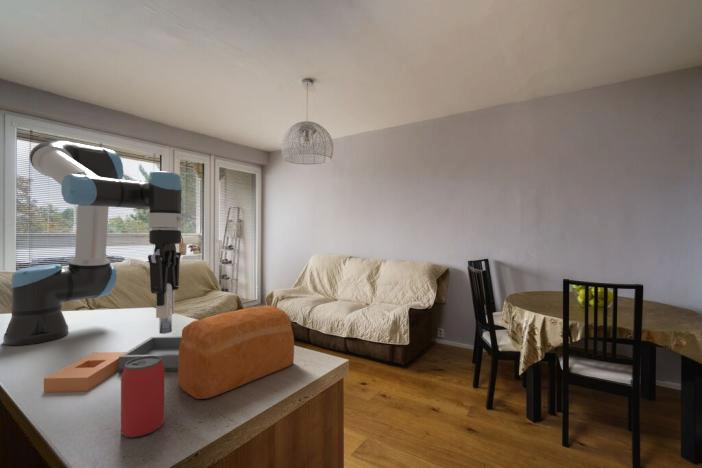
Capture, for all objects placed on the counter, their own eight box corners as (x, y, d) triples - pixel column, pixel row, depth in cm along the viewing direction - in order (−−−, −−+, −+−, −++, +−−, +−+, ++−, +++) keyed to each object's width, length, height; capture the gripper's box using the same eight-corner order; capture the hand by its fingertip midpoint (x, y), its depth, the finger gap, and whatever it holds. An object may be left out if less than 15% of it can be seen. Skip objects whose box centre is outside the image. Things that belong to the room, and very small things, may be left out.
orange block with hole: (93, 363, 85) (93, 352, 85) (129, 363, 86) (129, 351, 86) (43, 392, 70) (43, 378, 70) (87, 390, 71) (87, 377, 71)
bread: (299, 365, 86) (299, 305, 86) (201, 405, 66) (201, 328, 66) (268, 352, 95) (268, 298, 95) (173, 384, 75) (173, 316, 74)
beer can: (134, 417, 61) (134, 354, 61) (171, 416, 61) (171, 354, 61) (111, 440, 54) (112, 369, 54) (152, 438, 55) (152, 368, 55)
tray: (151, 350, 95) (151, 336, 95) (203, 349, 96) (203, 336, 96) (118, 372, 80) (118, 356, 80) (181, 371, 81) (181, 355, 81)
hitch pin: (162, 330, 89) (162, 281, 89) (174, 330, 89) (174, 281, 89) (157, 333, 86) (157, 283, 86) (168, 333, 86) (168, 283, 86)
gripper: (165, 229, 80) (165, 323, 80) (192, 229, 96) (192, 308, 96) (133, 229, 79) (133, 324, 80) (165, 229, 95) (165, 308, 95)
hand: (165, 315), depth 88 cm, fingers closed on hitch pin, 3 cm apart
